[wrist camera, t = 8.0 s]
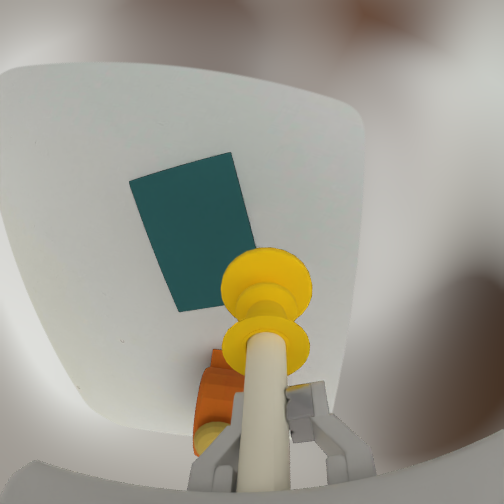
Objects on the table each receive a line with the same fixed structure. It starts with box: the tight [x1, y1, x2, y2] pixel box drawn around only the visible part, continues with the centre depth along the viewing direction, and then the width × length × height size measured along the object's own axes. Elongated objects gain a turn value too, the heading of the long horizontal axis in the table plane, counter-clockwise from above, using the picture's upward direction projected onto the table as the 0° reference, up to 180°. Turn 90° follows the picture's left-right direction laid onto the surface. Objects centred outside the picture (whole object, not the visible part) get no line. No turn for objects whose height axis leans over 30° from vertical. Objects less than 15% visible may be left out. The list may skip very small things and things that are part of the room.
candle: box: [221, 247, 312, 492], centre depth 11 cm, size 5×5×16 cm
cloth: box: [129, 152, 256, 312], centre depth 36 cm, size 18×12×1 cm, turn 14°
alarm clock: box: [193, 349, 245, 457], centre depth 37 cm, size 13×6×20 cm, turn 174°
